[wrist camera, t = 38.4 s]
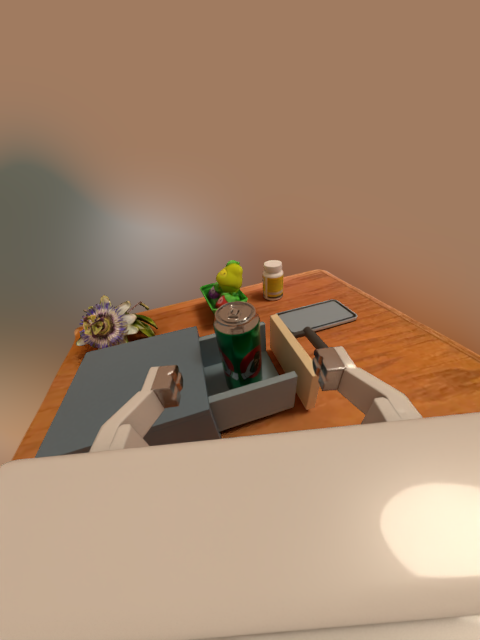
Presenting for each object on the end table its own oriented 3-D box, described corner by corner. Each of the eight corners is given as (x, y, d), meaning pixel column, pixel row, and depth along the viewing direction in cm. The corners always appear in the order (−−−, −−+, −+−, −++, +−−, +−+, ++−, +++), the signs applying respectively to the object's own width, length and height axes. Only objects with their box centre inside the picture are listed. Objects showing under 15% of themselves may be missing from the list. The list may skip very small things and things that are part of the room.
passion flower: (128, 372, 41) (57, 353, 33) (135, 332, 49) (78, 309, 41) (162, 345, 38) (92, 316, 30) (164, 306, 45) (109, 274, 37)
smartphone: (360, 316, 39) (290, 335, 36) (358, 320, 39) (289, 339, 36) (334, 298, 45) (272, 314, 42) (333, 302, 45) (272, 317, 42)
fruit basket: (203, 305, 49) (192, 260, 43) (236, 295, 52) (230, 251, 45) (216, 331, 41) (205, 280, 34) (255, 318, 43) (252, 268, 36)
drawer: (300, 339, 35) (303, 307, 31) (345, 397, 26) (359, 362, 22) (199, 366, 33) (189, 335, 29) (210, 442, 23) (196, 412, 19)
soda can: (264, 368, 30) (261, 299, 22) (261, 399, 26) (256, 328, 19) (230, 366, 31) (218, 298, 23) (223, 395, 27) (204, 326, 20)
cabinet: (207, 365, 34) (196, 325, 29) (223, 447, 24) (209, 409, 18) (116, 390, 32) (86, 352, 26) (89, 493, 21) (31, 463, 16)
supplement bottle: (286, 295, 49) (288, 262, 44) (273, 303, 47) (273, 269, 42) (272, 289, 52) (272, 257, 47) (259, 296, 50) (257, 264, 45)
